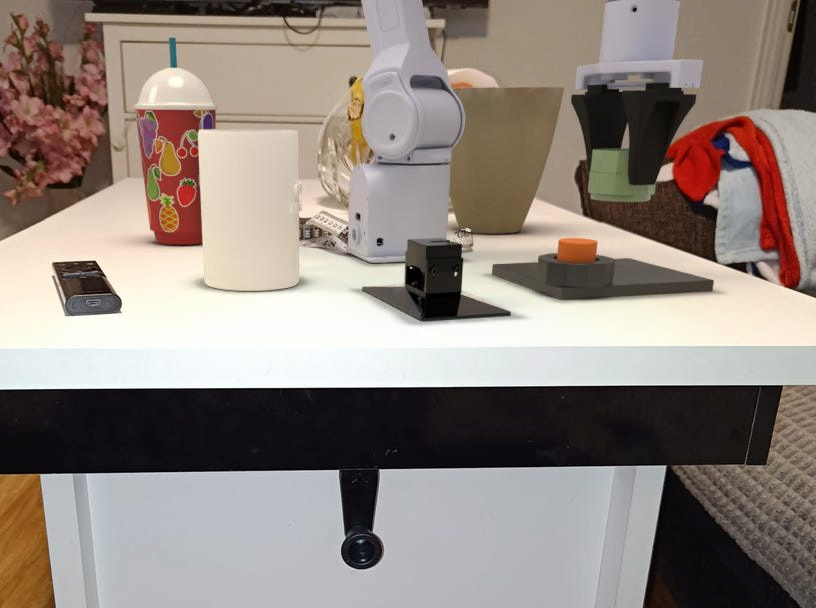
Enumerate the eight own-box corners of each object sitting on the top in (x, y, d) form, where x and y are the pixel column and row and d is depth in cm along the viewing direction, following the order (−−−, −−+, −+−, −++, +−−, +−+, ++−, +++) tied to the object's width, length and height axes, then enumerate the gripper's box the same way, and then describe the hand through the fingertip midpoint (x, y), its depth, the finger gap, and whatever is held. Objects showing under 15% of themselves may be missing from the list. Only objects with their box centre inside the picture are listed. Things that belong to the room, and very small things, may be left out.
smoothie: (237, 240, 102) (231, 39, 94) (186, 249, 95) (175, 33, 88) (179, 234, 106) (169, 41, 98) (127, 243, 99) (111, 36, 92)
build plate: (512, 318, 66) (517, 252, 65) (417, 325, 64) (420, 257, 62) (440, 286, 77) (443, 228, 75) (357, 290, 75) (358, 231, 73)
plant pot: (479, 220, 122) (487, 88, 116) (576, 231, 112) (590, 87, 106) (400, 229, 112) (405, 86, 106) (498, 242, 102) (509, 85, 96)
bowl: (610, 202, 76) (616, 151, 75) (575, 197, 81) (580, 148, 79) (666, 201, 78) (673, 150, 76) (628, 195, 83) (634, 147, 81)
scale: (559, 302, 71) (562, 265, 70) (486, 275, 82) (488, 243, 81) (716, 293, 75) (722, 258, 74) (627, 268, 86) (631, 238, 85)
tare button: (568, 266, 72) (571, 243, 71) (549, 260, 75) (551, 238, 74) (602, 265, 73) (605, 242, 72) (582, 259, 76) (584, 237, 75)
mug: (283, 265, 86) (281, 127, 82) (311, 289, 76) (311, 131, 71) (194, 268, 84) (187, 127, 80) (210, 292, 74) (203, 131, 69)
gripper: (747, -5, 68) (717, 188, 74) (632, 12, 81) (613, 175, 86) (666, -9, 66) (641, 189, 72) (560, 9, 79) (546, 176, 84)
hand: (621, 182), depth 79 cm, fingers closed on bowl, 5 cm apart
